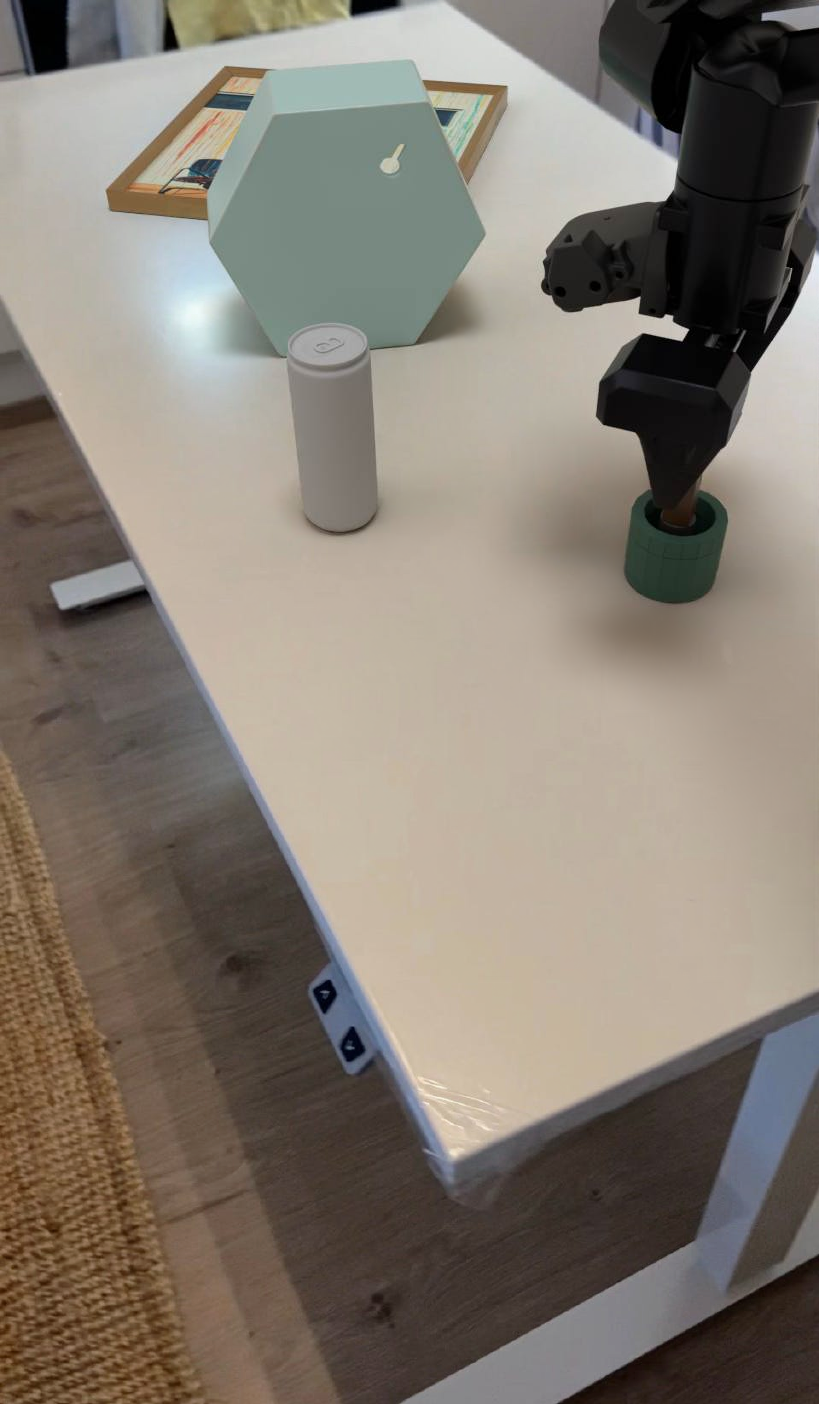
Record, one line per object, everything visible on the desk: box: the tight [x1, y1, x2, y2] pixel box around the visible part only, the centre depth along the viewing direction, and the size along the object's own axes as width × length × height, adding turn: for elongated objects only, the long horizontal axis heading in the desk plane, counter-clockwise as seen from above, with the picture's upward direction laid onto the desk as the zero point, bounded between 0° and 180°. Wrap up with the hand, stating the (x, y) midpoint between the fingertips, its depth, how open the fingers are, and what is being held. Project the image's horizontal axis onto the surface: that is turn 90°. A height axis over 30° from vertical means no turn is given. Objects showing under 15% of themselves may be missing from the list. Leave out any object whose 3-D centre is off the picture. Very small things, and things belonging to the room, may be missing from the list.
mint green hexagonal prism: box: [206, 59, 487, 358], centre depth 86 cm, size 17×8×21 cm
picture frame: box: [105, 65, 509, 221], centre depth 113 cm, size 30×2×30 cm
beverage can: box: [286, 323, 379, 533], centre depth 72 cm, size 5×5×12 cm
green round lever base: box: [623, 488, 729, 604], centre depth 70 cm, size 5×6×4 cm
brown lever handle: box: [658, 472, 704, 537], centre depth 66 cm, size 2×2×13 cm
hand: (689, 459), depth 65 cm, fingers open, 9 cm apart
